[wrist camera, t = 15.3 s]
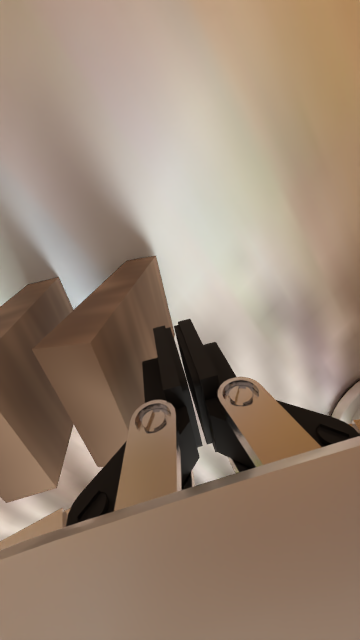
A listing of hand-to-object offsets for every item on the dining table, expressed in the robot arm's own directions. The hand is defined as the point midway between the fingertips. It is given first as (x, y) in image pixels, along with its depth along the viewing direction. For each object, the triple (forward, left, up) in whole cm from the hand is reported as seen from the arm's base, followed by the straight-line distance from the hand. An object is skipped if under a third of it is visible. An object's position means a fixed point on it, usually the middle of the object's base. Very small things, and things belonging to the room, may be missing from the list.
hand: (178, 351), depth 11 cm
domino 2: (+1, 0, -7) cm, 7 cm away
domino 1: (+7, 0, -8) cm, 10 cm away
